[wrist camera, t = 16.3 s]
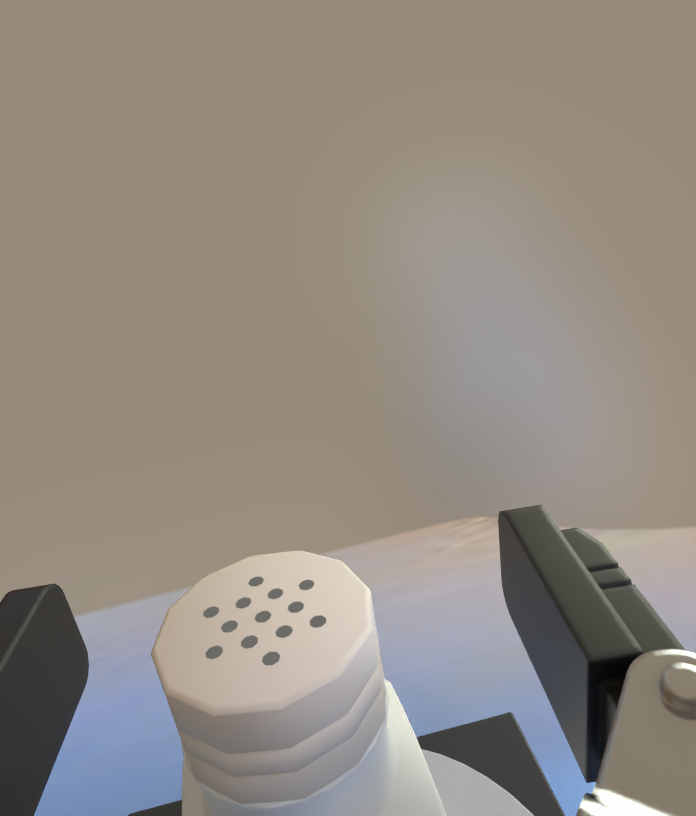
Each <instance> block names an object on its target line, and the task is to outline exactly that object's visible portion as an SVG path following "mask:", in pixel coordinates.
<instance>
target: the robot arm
mask: <svg viewBox="0 0 696 816" xmlns="http://www.w3.org/2000/svg"><path fill="white" fill-rule="evenodd" d="M498 524H499V542H500V560H501V577H502V587H503V592H504V597H505V601H506V604H507V608H508V611H509V613H510V616H511V618H512V620H513V623H514V625H515V627H516V629H517V631H518V634H519V636H520V638H521V640H522V642H523V644H524V647H525V649H526V651H527V653H528V655H529V658H530V660H531V662H532V664H533V666H534V669H535V671H536V673H537V675H538V677H539V680H540V682H541V684H542V686H543V688H544V691H545V693H546V695H547V697H548V699H549V701H550V704H551V706H552V708H553V710H554V712H555V715H556V717H557V719H558V721H559V723H560V726H561V728H562V730H563V732H564V734H565V737H566V739H567V741H568V743H569V745H570V747H571V750H572V752H573V754H574V756H575V758H576V761H577V763H578V765H579V767H580V769H581V772H582V774H583V776H584V778H585V780H586V783H589V782H595V781H596V784H595V787H594V790H593V793H592V794H589V793H586V794H585V796H584V797H583V799H582V802H581V804H580V807H579V809H578V813H577V816H696V653H693V652H689V651H686V650H685V649H684V648H683V647H682V645H681V644H680V643H679V641H678V640H677V639H676V638H675V636H674V635H673V634H672V632H671V631H670V630H669V628H668V627H667V626H666V625H665V623H664V622H663V621H662V619H661V618H660V617H659V616H658V614H657V613H656V612H655V610H654V609H653V608H652V607H651V605H650V604H649V603H648V601H647V600H646V599H645V598H644V596H643V595H642V594H641V592H640V591H639V590H638V588H637V587H636V586H635V585H632V583H631V579H630V578H629V577H628V576H627V574H626V573H625V572H624V570H623V569H622V568H621V567H619V566H618V563H617V561H616V560H615V559H614V558H613V556H612V555H611V554H610V552H609V551H608V550H607V549H606V547H605V546H604V545H603V543H601V542H600V541H598V540H597V539H595V538H593V537H592V536H590V535H588V534H587V533H585V532H584V531H582V530H580V529H579V528H572V529H566V530H560V529H559V528H558V526H557V525H556V524H555V522H554V521H553V519H552V518H551V516H550V515H549V513H548V512H547V511H546V509H545V508H544V507H543V506H542V505H536V506H530V507H524V508H518V509H512V510H506V511H501V512H500V513H499V518H498ZM88 669H89V662H88V653H87V649H86V646H85V644H84V641H83V639H82V636H81V634H80V631H79V629H78V627H77V624H76V622H75V619H74V617H73V614H72V612H71V610H70V607H69V604H68V602H67V600H66V597H65V595H64V593H63V591H62V589H61V588H60V587H59V586H58V585H56V584H49V585H44V586H38V587H31V588H25V589H19V590H13V591H10V592H8V593H7V594H6V595H5V597H4V598H3V600H2V601H1V602H0V816H34V813H35V811H36V808H37V806H38V803H39V801H40V798H41V796H42V793H43V791H44V788H45V786H46V783H47V781H48V778H49V776H50V773H51V771H52V768H53V766H54V763H55V761H56V758H57V756H58V753H59V751H60V748H61V746H62V743H63V741H64V738H65V736H66V733H67V731H68V728H69V726H70V723H71V721H72V718H73V716H74V713H75V711H76V708H77V706H78V703H79V701H80V698H81V696H82V693H83V691H84V688H85V685H86V682H87V678H88Z"/></svg>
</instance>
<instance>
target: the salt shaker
mask: <svg viewBox="0 0 696 816" xmlns="http://www.w3.org/2000/svg"><path fill="white" fill-rule="evenodd" d="M151 656H152V658H153V661H154V664H155V667H156V670H157V673H158V675H159V678H160V681H161V684H162V687H163V689H164V692H165V695H166V698H167V701H168V704H169V706H170V709H171V712H172V715H173V718H174V721H175V724H176V726H177V729H178V732H179V735H180V738H181V742H182V748H183V754H184V763H183V780H182V816H447V815H446V812H445V810H444V807H443V804H442V802H441V799H440V796H439V794H438V791H437V788H436V786H435V783H434V781H433V778H432V775H431V773H430V770H429V768H428V765H427V763H426V760H425V758H424V755H423V753H422V750H421V748H420V745H419V743H418V740H417V738H416V736H415V733H414V731H413V729H412V727H411V724H410V722H409V720H408V718H407V715H406V713H405V711H404V709H403V707H402V705H401V703H400V701H399V699H398V697H397V695H396V693H395V691H394V688H393V686H392V684H391V682H389V681H388V680H386V679H385V678H384V674H383V667H382V661H381V655H380V652H379V642H378V636H377V631H376V623H375V617H374V611H373V605H372V598H371V592H370V589H369V588H368V587H367V586H366V585H365V584H364V583H363V582H362V581H361V580H360V579H359V578H358V577H357V576H356V575H355V574H354V573H353V572H352V571H351V570H350V569H349V568H348V567H347V566H346V565H345V564H344V563H343V562H342V561H339V560H335V559H332V558H328V557H324V556H320V555H316V554H312V553H307V552H304V551H300V550H299V551H291V552H282V553H274V554H265V555H256V556H250V557H248V558H246V559H244V560H241V561H239V562H237V563H235V564H232V565H230V566H228V567H225V568H223V569H221V570H219V571H216V572H214V573H212V574H210V575H207V576H205V577H204V578H203V579H201V580H200V581H199V582H198V583H197V584H196V585H195V586H194V587H193V588H192V589H190V590H189V591H188V592H187V593H186V594H185V595H184V596H183V597H182V598H181V599H179V600H178V601H177V602H176V603H175V604H174V605H173V606H172V607H171V608H170V609H168V611H167V614H166V616H165V619H164V621H163V624H162V626H161V629H160V631H159V634H158V637H157V639H156V642H155V644H154V647H153V649H152V652H151Z"/></svg>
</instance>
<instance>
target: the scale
mask: <svg viewBox="0 0 696 816" xmlns="http://www.w3.org/2000/svg"><path fill="white" fill-rule="evenodd" d="M416 738H417V740H418V743H419V745H420V748H421V750H422V753H423V755H424V758H425V760H426V763H427V765H428V768H429V770H430V773H431V775H432V778H433V781H434V783H435V786H436V788H437V791H438V794H439V796H440V799H441V802H442V804H443V807H444V810H445V812H446V815H447V816H565V815H564V813H563V811H562V809H561V807H560V805H559V803H558V801H557V799H556V797H555V795H554V793H553V791H552V789H551V787H550V785H549V783H548V782H547V780H546V778H545V776H544V774H543V772H542V770H541V768H540V766H539V764H538V762H537V760H536V758H535V756H534V754H533V752H532V750H531V748H530V747H529V745H528V743H527V741H526V739H525V737H524V735H523V733H522V731H521V729H520V727H519V725H518V723H517V721H516V719H515V717H514V715H513V714H512V713H511V712H510V713H506V714H502V715H499V716H495V717H491V718H487V719H484V720H480V721H476V722H472V723H469V724H465V725H461V726H457V727H454V728H450V729H446V730H442V731H439V732H435V733H431V734H427V735H424V736H420V737H416ZM128 816H182V800H180V801H176V802H172V803H169V804H165V805H161V806H157V807H154V808H150V809H146V810H142V811H139V812H135V813H131V814H129V815H128Z"/></svg>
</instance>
